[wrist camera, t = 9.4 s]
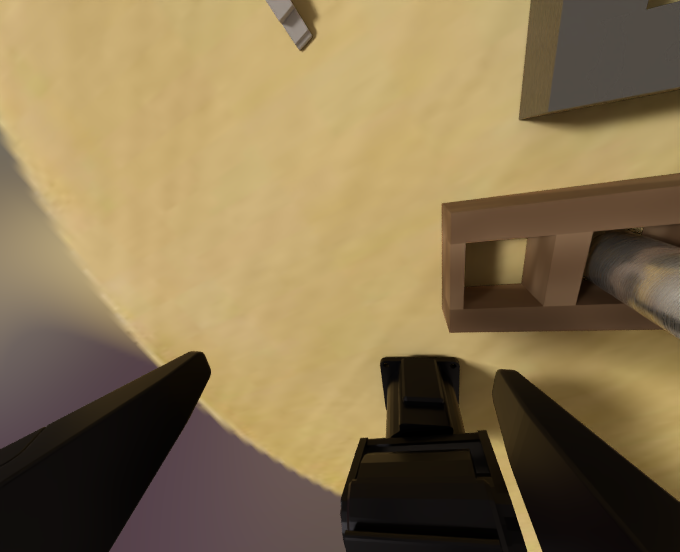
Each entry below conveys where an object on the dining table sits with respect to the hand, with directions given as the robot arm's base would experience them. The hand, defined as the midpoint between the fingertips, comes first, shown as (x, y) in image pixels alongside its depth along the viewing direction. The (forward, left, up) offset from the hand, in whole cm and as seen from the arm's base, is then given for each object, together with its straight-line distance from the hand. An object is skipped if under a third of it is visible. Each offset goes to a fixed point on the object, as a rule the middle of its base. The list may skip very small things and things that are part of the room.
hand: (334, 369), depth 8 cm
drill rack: (-2, -14, -12) cm, 19 cm away
